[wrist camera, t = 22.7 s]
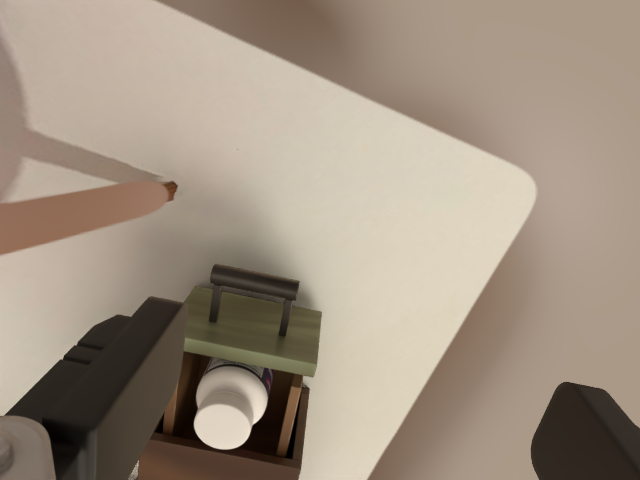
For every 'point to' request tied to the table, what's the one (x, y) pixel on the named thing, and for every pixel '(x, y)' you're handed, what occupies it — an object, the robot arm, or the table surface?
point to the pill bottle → (230, 402)
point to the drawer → (247, 351)
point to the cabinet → (221, 456)
